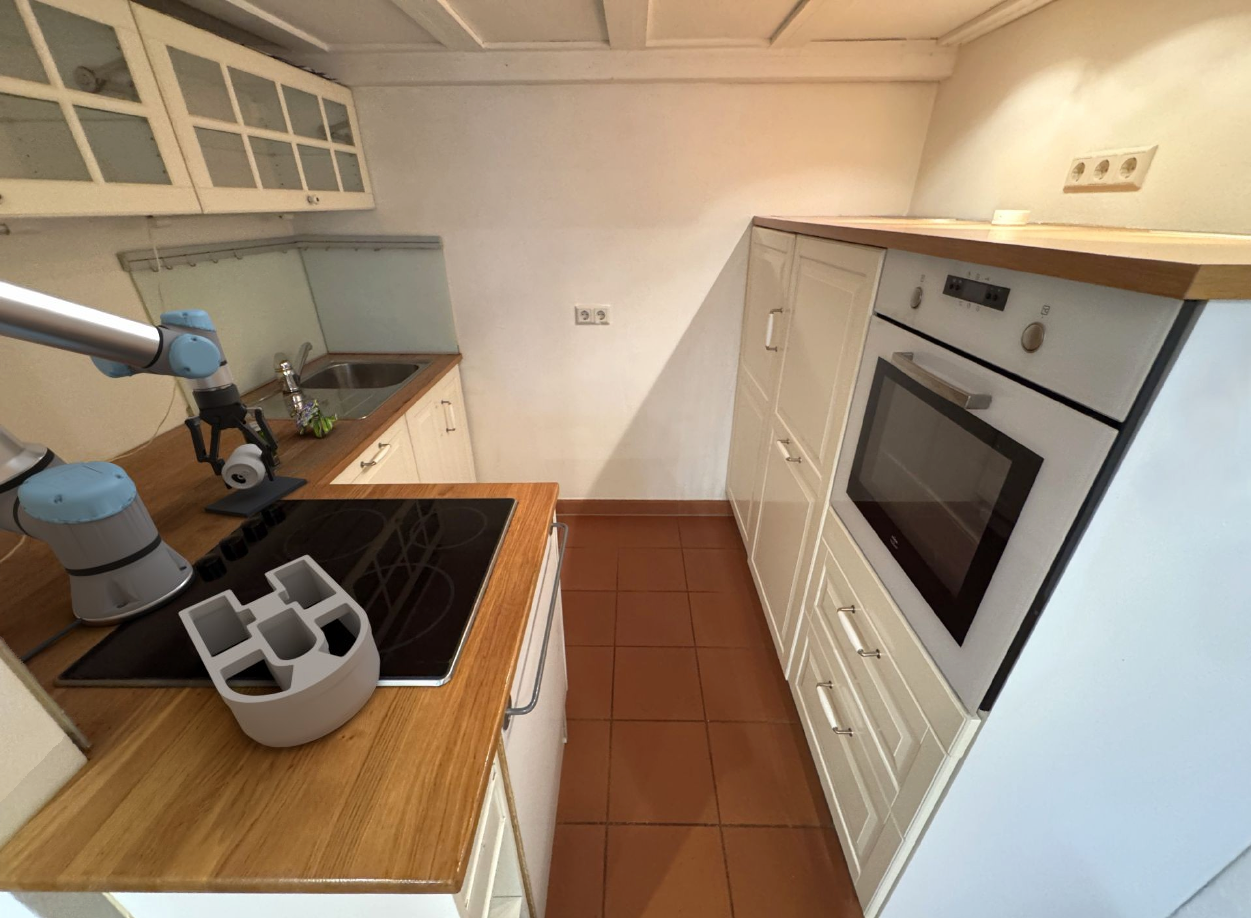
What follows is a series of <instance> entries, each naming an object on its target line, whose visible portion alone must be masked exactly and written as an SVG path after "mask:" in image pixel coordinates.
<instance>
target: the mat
mask: <svg viewBox="0 0 1251 918" xmlns="http://www.w3.org/2000/svg"><path fill="white" fill-rule="evenodd" d="M307 483H308V481H307V479H306V478H299V477H292V476H282V475H275V479H274V481H270V480H269V477H268V475H267V474H265V475H264V478H263V480H262V481H261V482H260V484H258V485H257V486H256V487H253V488H250V489H237V490H235V491H233V492H231V493H229V494H227V495H225V496H223V497H221V498H220V499H218V500H216V501H213V502H212V503H210V504H208V505H206V506H204V507H203V509H204V512H206V513H212V514H220V515H227V516H235V517H243V518H249V517H251V516H253V515H255V514H256V513H258V512H260V511H261V510H263V509H265V508H267V507H268V506H270V505H272V504H274V503H275V502H278V500H280V499H282V498H284V497H286V496H287V495H289V494H290V493H292V492H294V491H295V490H297V489H299V488H300V487H302V486H304V485H305V484H307Z"/></svg>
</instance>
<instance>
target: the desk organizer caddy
mask: <svg viewBox="0 0 1251 918" xmlns="http://www.w3.org/2000/svg"><path fill="white" fill-rule="evenodd" d="M264 577H265V578H266V580H267V582H268V584H269V586H270V587H271V588H272V592H270V593H268V594H266V595H264V596H262V597H260V598H257V599H256V600H254V601H252V602H249V603H247V604H245V605H242V604H241V602H240V601H239V600H238V598H237V596H236V595H235V594H234V592H233V590H231V589H227V590H225V591H222V592H220V593H218V594H216V595H213V596H211V597H209V598H207V599H205V600H202V601H200V602H198V603H195V604H194V605H191V606H189V607H186V608H184V609H182V610H180V611H179V612H178V616H179V617H180V619H181V621H182V623H183V625H184V627H185V629H186V631H187V634H188V635H189V638H190V639H191V641H192V643H193V645H194V646H195V650H196V651H197V652H198V654H199V656H200V659H201V661H202V662H203V664H204V666H205V669H206V670H207V672H208V674H209V677H210V678H211V680H212V682H213V684H214V686H215V688H216V690H217V691H218V693H219V695H220V697H221V699H222V700H223V701H224V703H225V704H226V705H227V706H228V707H229V709H230V710H231V712H232V714H233V716H234V717H235V720H236V721H237V723H238V725H239V726H240V728H241V730H242V731H243V733H244V734H245V735H247V736H248V737H249V738H251V739H252V740H254V741H255V742H257V743H259V744H261V745H263V746H267V747H271V748H290V747H295V746H296V747H297V746H300V745H304V744H307V743H310V742H312V741H315V740H316V741H317V739H321V738H323V737H325V736H326V735H329V734H330V733H332V732H335V730H337V729H339V728H341V726H343V725H344V724H346V723H347V722H348V721H349V720H351V719H352V718H353V717H354V716H355V715H357V714H358V713H359V711H360V710H361V709H363V707H364V706H365V705H366V704H367V702H368V701H369V700H370V698H371V697H372V695H373V694H374V692H375V690H376V688H377V686H378V681H379V680H380V679H379V678H380V667H381V659H380V653H379V651H378V648H377V645H376V643H375V639H374V636H373V633H372V627H371V623H370V620H369V618H368V615H367V613H366V611H365V610H364V608H362V606H360V604H359V603H357V602H356V600H355V599H353V598H352V596H350V595H349V594H348V593H347V592H346V590H345V589H343V588H342V586H340V585H339V584H338V583H337V582H336V581H335V580H334V579H333V578H332V577H331V576H330V575H329V574H328V573H327V572H326V571H325V570H324V569H323V568H322V567H321V566H320V565H319V564H318V563H317V562H316V561H315V560H314V559H313V558H312V557H311V556H310V555H309V554H305V555H303V556H301V557H298V558H296V559H293V560H291V561H289V562H287V563H285V564H283V565H280V566H278V567H276V568H274V569H271V570H269V571H267V572H265V573H264ZM310 606H311V607H310ZM308 607H309V608H308ZM336 619H338V621H339V622H340V623H341V624H342V625H343V626H344V627H345V628H346V629H347V630H348V631H349V632H350V633H351V635H352V636H353V637H354V638H355V639H356V640H355V642H354V643H353V645H352V646H351V648H350V649H349V650H348V651H347V652H346V653H345V654H344V655H343V656H338V655H334V654H331V652H330V650H329V643H328V641H327V638H326V636H325V632H324V631H323V630H322V629H321V628H323V627H324V626H326V625H327V624H329V623H332V622H333V621H335V620H336ZM242 641H243V642H242ZM236 644H237V645H236ZM234 645H235V646H234ZM232 646H233V647H232ZM228 648H229V649H228ZM226 649H227V650H226ZM224 650H225V651H224ZM222 651H223V652H222ZM220 652H221V653H220ZM218 653H219V654H218ZM262 660H264V663H265V665H266V666H267V669H268V671H269V673H270V674H271V676H272V677H273V679H274V680H275V682H276V683H277V685H278V686H279V688H280V690H282V691H280V692H276V693H272V694H264V695H247V694H242V693H238V692H236V691H234V690H232V689H231V688H230V687H229V686H228V685H227V682H226V681H227V680H228V679H230V678H231V677H233V676H234V675H237V674H238V673H241V672H242V671H244V670H246V669H247V668H249V667H252V666H253V665H255V664H257V663H258V662H261V661H262Z"/></svg>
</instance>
